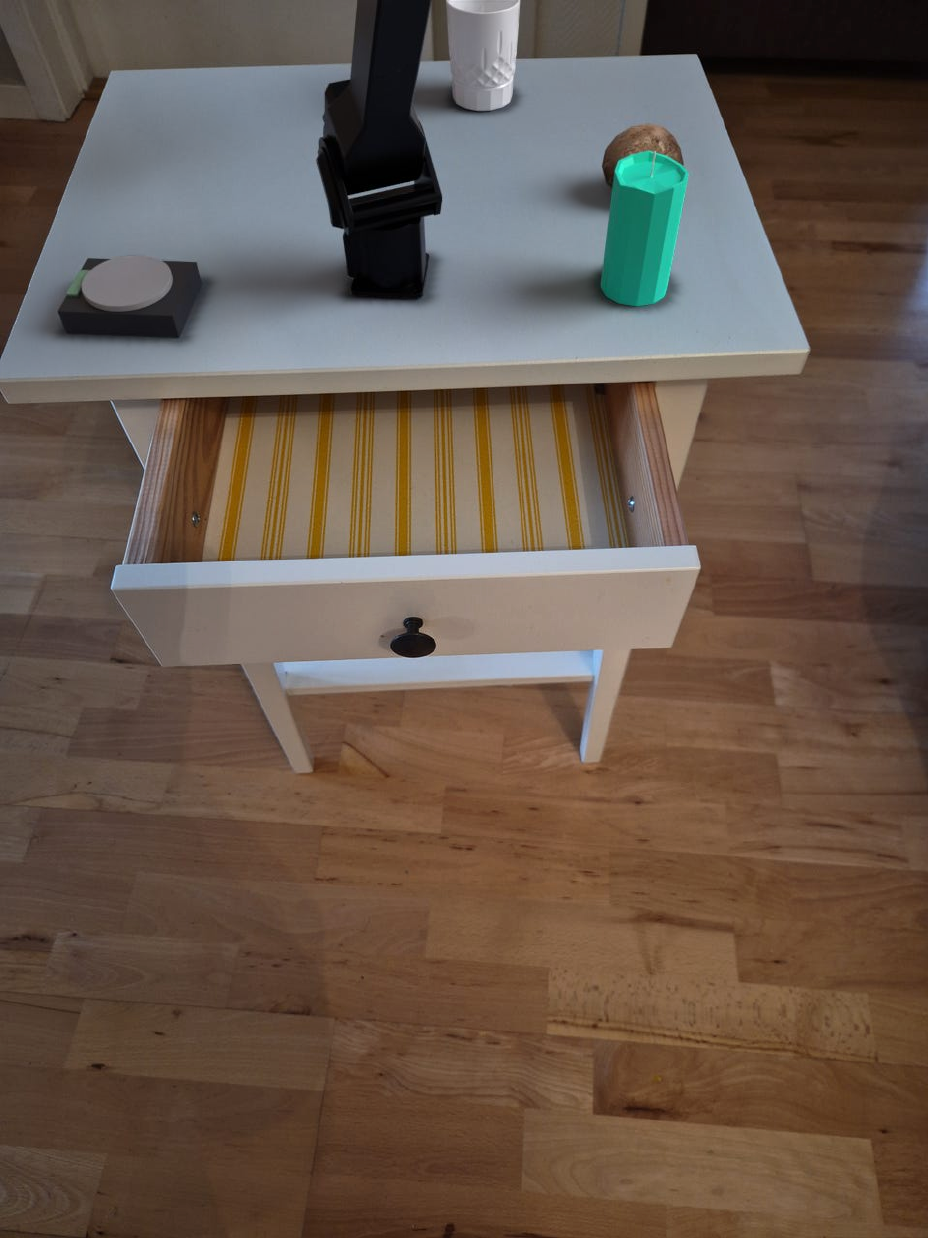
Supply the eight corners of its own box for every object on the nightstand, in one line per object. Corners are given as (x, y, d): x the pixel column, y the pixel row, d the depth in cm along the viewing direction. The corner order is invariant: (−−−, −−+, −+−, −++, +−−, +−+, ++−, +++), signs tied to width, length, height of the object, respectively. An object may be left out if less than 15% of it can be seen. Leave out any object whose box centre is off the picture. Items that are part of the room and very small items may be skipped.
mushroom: (607, 130, 92) (631, 94, 86) (675, 167, 93) (704, 134, 87) (580, 200, 91) (602, 168, 85) (649, 236, 92) (676, 207, 86)
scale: (202, 283, 82) (195, 255, 80) (179, 337, 78) (170, 309, 75) (95, 279, 83) (85, 251, 81) (66, 333, 78) (53, 304, 76)
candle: (598, 266, 83) (614, 132, 73) (664, 267, 83) (688, 133, 73) (602, 306, 80) (619, 170, 70) (670, 306, 79) (697, 171, 70)
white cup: (510, 116, 101) (513, 15, 92) (441, 111, 102) (438, 9, 94) (522, 85, 105) (526, -15, 97) (455, 79, 106) (454, -20, 98)
